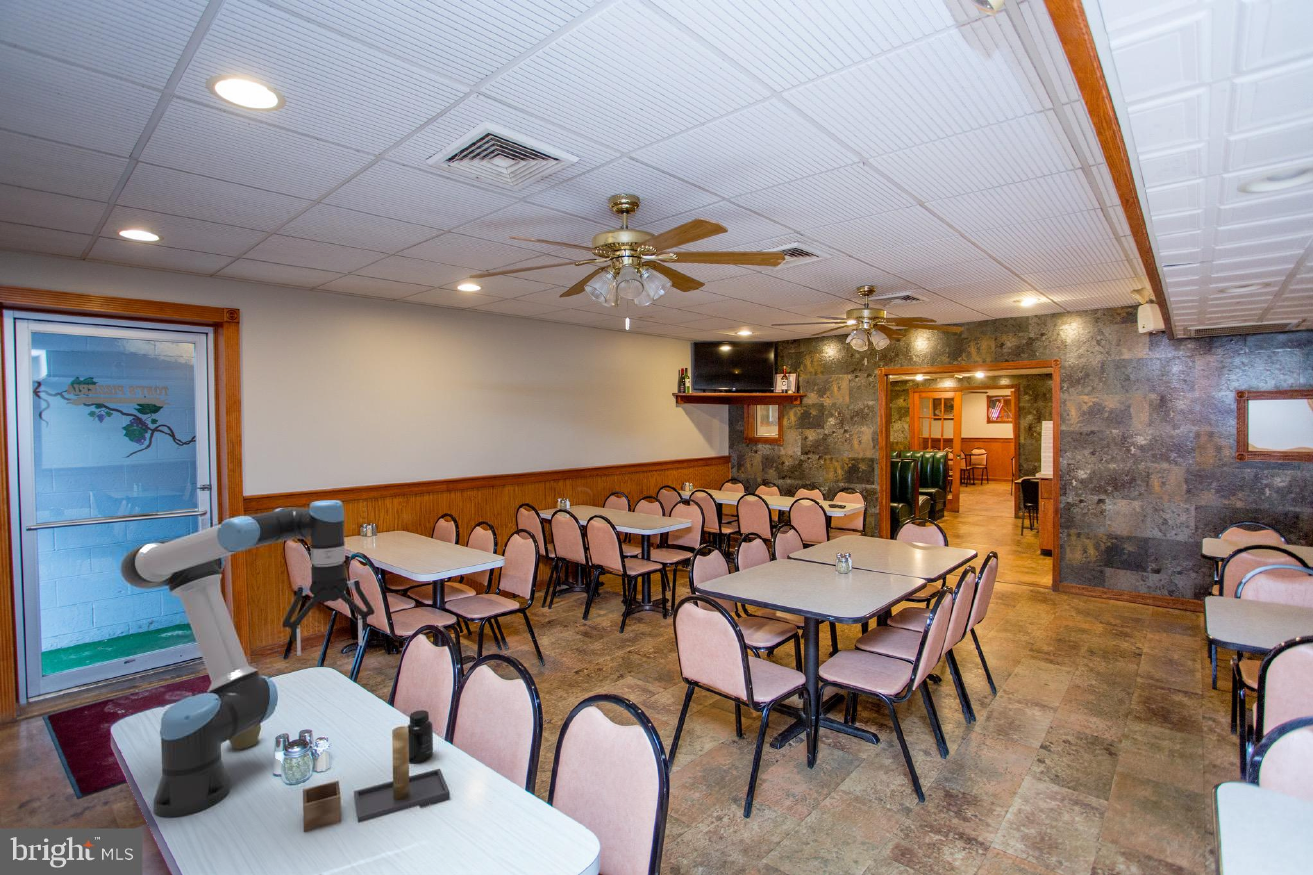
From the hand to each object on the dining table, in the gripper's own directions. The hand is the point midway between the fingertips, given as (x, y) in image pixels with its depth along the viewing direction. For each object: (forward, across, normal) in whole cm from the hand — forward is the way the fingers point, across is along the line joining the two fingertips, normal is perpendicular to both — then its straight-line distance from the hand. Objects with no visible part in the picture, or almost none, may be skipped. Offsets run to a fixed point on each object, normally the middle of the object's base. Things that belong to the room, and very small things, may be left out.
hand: (330, 648), depth 159 cm
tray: (+35, +14, -14) cm, 40 cm away
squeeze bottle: (+35, -21, +37) cm, 55 cm away
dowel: (+34, +14, -14) cm, 39 cm away
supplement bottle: (+35, +21, +4) cm, 41 cm away
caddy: (+35, -3, -14) cm, 38 cm away
